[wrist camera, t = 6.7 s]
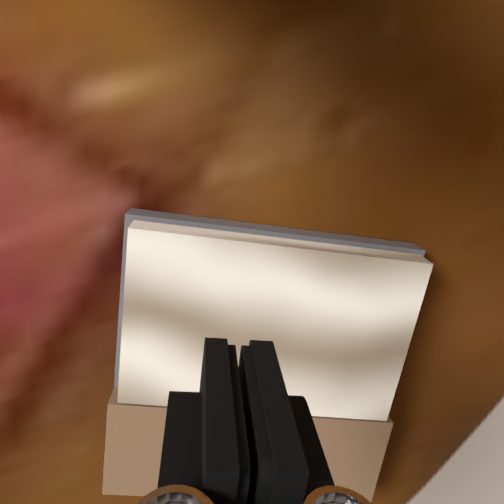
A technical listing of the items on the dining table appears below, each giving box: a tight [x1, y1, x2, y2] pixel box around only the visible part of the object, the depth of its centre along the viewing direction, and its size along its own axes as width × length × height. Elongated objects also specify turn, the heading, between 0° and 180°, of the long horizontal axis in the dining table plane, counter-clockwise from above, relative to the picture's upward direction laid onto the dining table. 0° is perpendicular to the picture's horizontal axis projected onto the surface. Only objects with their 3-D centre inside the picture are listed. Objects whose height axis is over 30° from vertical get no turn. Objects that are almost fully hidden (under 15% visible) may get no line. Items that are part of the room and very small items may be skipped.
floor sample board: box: [102, 208, 426, 502], centre depth 24 cm, size 16×16×3 cm
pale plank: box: [117, 220, 433, 421], centre depth 23 cm, size 10×15×2 cm, turn 82°
